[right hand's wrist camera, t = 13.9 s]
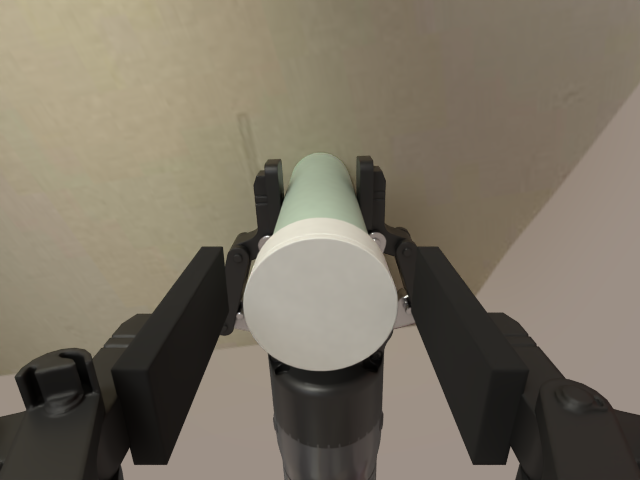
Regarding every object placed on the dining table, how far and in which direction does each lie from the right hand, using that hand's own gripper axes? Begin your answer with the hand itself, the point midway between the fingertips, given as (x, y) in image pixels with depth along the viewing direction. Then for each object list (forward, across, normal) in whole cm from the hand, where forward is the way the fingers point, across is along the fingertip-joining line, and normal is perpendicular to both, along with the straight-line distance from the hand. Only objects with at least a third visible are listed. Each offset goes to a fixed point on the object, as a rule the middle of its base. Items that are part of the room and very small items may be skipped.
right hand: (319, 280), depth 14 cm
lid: (-2, 0, 0) cm, 2 cm away
